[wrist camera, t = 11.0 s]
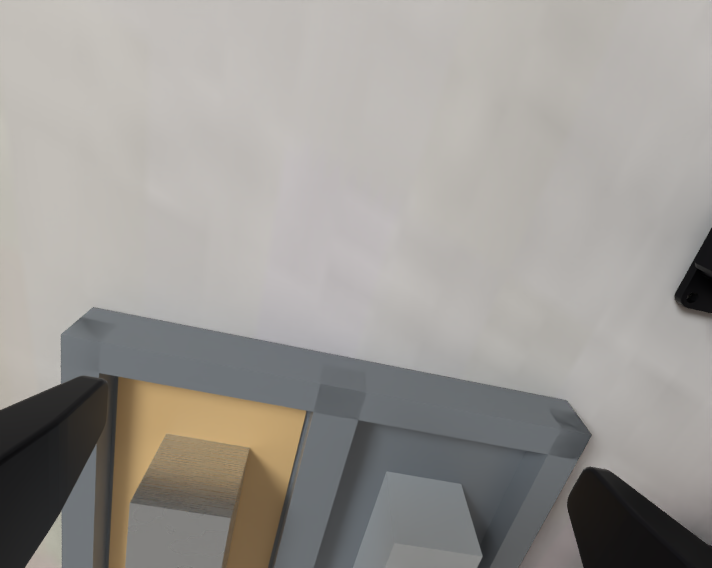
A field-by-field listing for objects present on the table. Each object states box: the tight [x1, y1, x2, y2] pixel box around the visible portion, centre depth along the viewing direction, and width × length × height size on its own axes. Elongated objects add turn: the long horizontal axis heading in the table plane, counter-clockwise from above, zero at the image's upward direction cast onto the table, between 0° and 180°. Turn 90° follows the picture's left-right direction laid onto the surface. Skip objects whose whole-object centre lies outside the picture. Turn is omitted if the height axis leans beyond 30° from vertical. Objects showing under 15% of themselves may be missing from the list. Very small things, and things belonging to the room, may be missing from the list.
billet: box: [125, 434, 250, 568], centre depth 22 cm, size 4×10×4 cm, turn 166°
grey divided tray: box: [61, 307, 591, 568], centre depth 23 cm, size 23×21×5 cm
